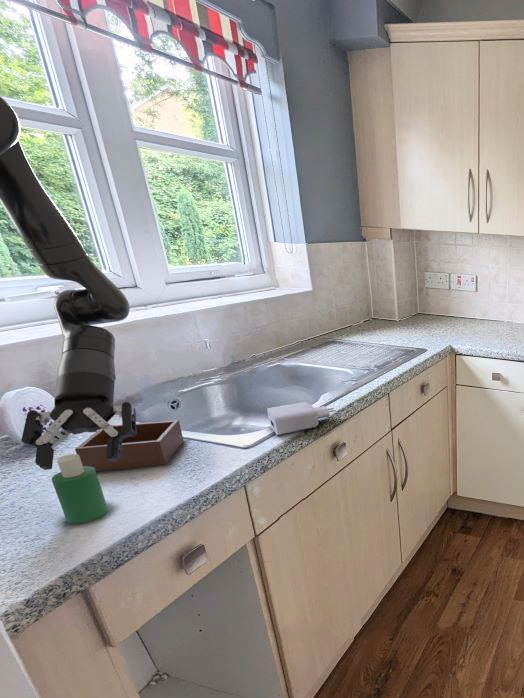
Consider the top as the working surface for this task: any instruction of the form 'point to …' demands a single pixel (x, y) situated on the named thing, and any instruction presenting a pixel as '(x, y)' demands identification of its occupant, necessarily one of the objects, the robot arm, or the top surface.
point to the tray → (133, 446)
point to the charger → (295, 417)
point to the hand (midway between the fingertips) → (79, 464)
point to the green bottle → (78, 490)
